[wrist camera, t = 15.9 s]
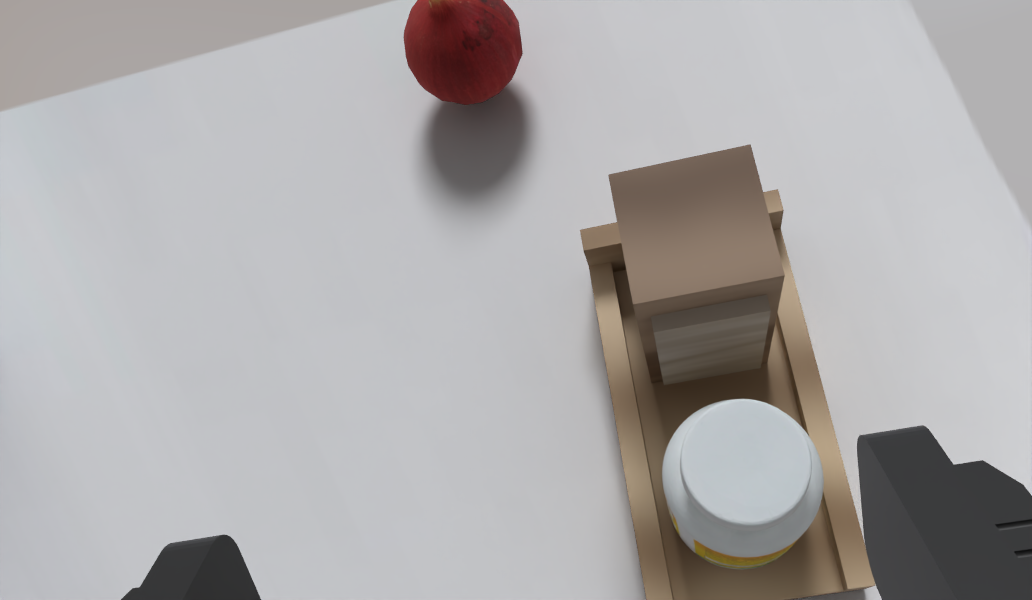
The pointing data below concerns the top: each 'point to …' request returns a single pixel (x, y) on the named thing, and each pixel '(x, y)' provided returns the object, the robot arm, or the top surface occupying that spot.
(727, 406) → the supplement bottle
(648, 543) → the wooden box stand
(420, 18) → the onion
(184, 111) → the top surface
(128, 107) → the top surface
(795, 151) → the top surface
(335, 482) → the top surface
